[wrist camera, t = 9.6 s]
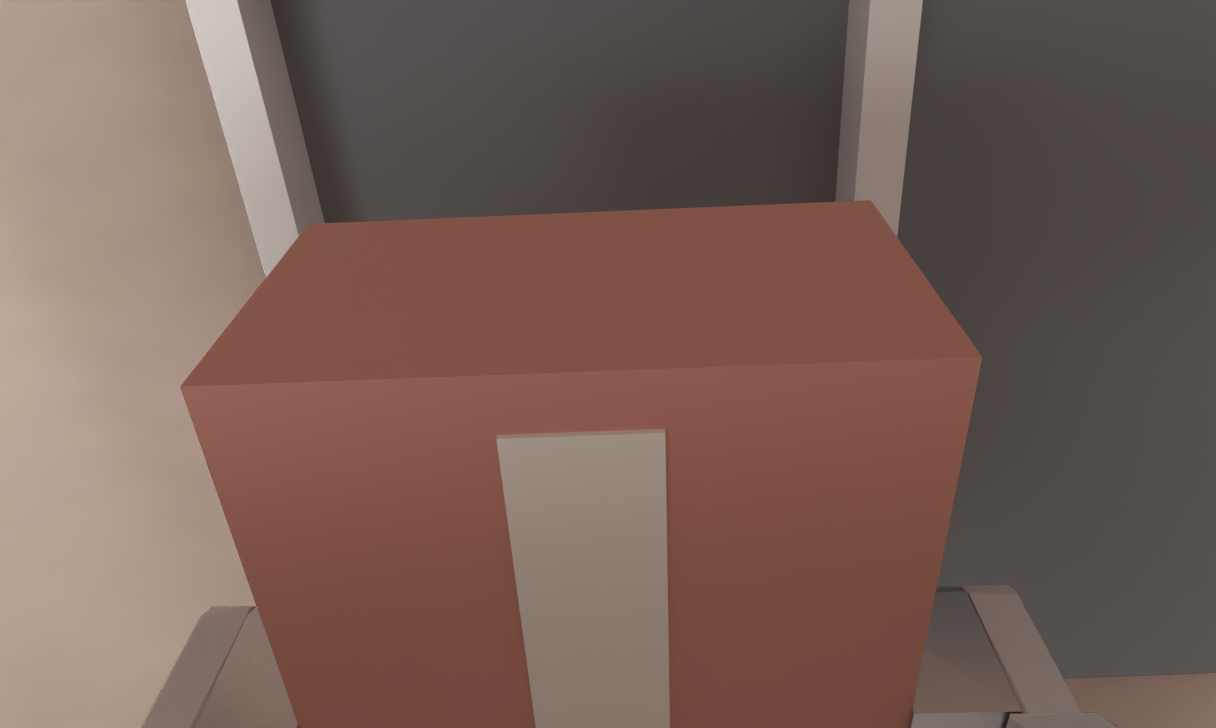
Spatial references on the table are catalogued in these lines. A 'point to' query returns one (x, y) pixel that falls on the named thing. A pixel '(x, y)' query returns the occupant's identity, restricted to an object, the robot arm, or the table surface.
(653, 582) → the card deck
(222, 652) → the robot arm
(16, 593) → the table surface
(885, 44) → the frame
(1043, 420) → the desk mat
